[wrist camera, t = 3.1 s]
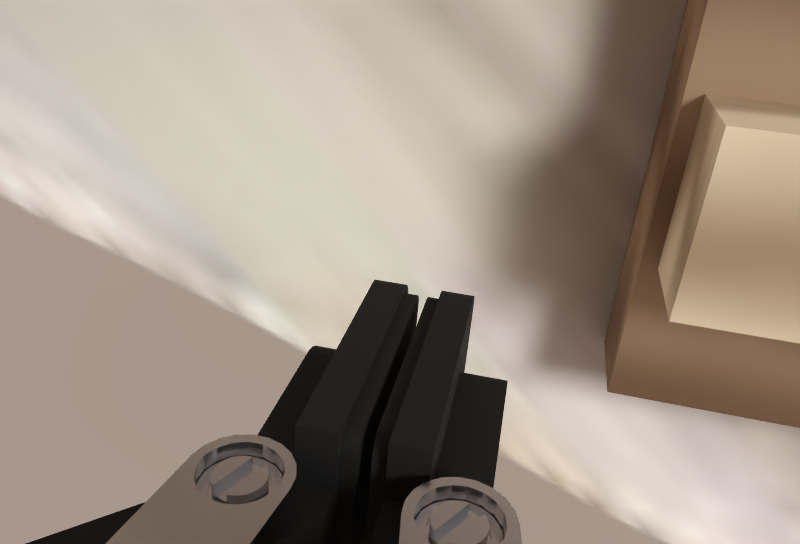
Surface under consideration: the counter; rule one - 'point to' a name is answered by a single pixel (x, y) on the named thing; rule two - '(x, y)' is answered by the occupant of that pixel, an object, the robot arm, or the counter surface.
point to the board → (640, 282)
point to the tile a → (738, 222)
